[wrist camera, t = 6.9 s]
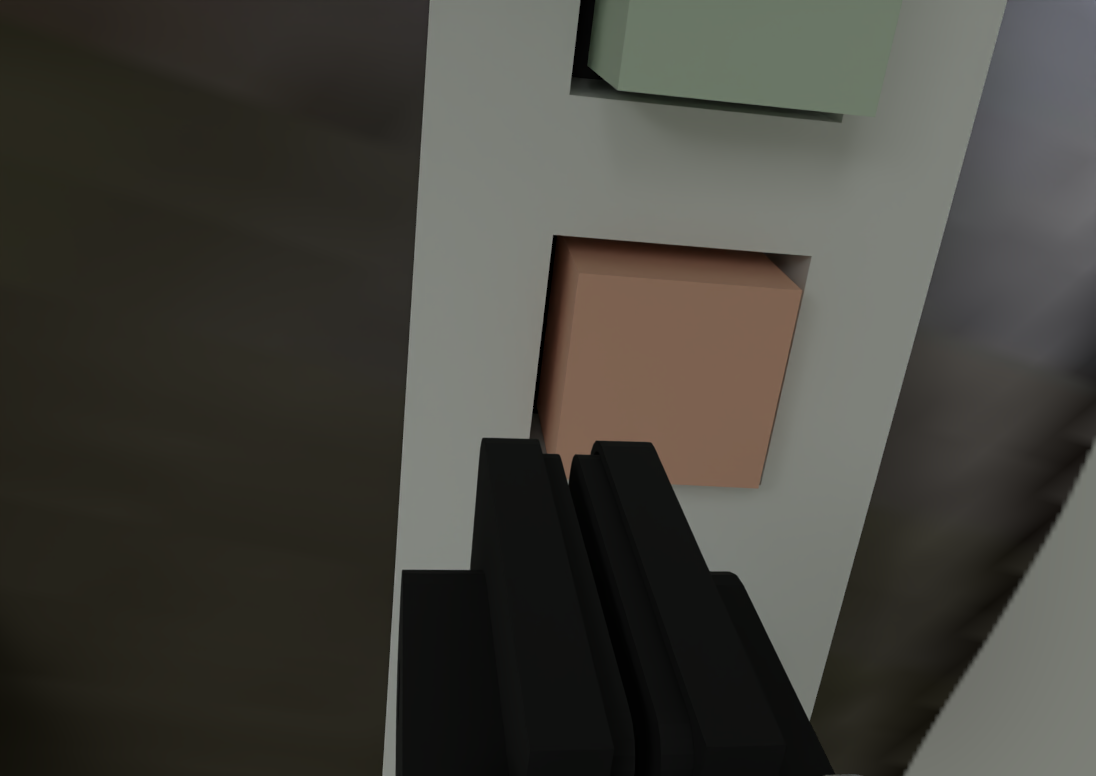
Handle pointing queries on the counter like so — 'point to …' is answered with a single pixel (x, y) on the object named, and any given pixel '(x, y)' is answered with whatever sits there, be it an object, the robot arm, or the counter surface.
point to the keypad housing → (690, 220)
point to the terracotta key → (666, 355)
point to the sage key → (748, 50)
